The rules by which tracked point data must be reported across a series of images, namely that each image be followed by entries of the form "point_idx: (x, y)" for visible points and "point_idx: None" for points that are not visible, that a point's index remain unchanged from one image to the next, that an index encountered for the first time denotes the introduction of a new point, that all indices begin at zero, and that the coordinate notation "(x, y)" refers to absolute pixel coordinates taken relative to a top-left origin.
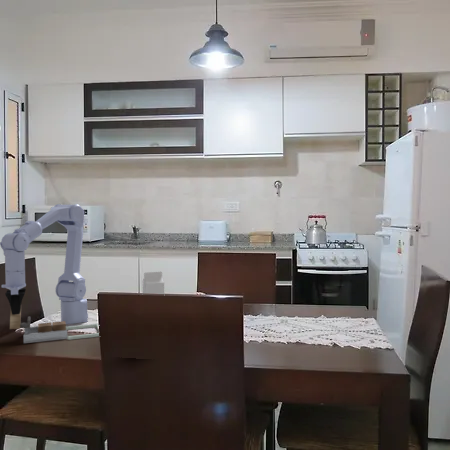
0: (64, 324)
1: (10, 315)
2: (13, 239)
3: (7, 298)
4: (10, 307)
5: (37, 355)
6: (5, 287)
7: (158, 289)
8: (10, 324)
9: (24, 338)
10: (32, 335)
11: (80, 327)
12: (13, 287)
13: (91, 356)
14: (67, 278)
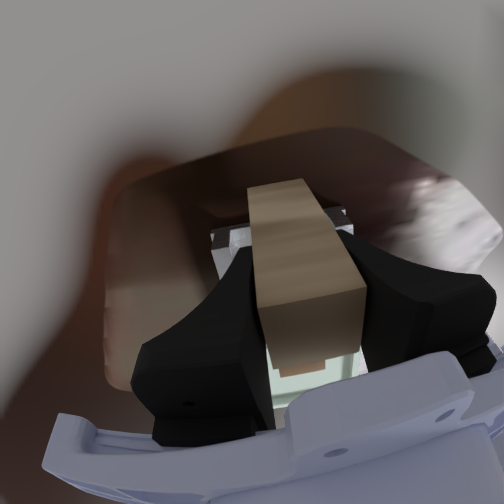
0: (280, 374)
1: (250, 227)
2: None
3: (169, 329)
4: (253, 262)
5: (108, 293)
6: (277, 438)
7: None
8: (248, 201)
9: (213, 245)
10: (220, 279)
11: (351, 362)
12: (130, 492)
13: (119, 384)
14: (501, 433)
